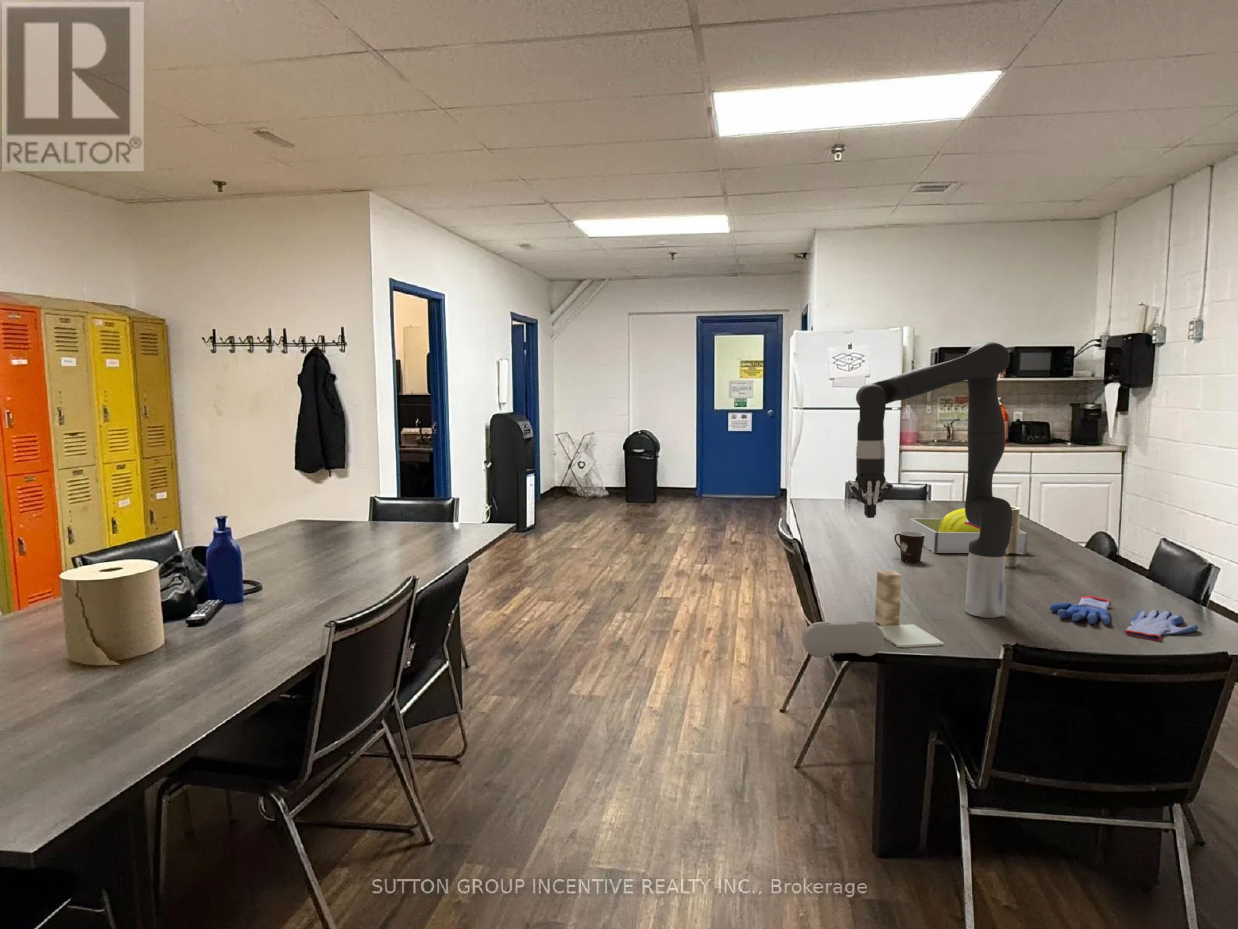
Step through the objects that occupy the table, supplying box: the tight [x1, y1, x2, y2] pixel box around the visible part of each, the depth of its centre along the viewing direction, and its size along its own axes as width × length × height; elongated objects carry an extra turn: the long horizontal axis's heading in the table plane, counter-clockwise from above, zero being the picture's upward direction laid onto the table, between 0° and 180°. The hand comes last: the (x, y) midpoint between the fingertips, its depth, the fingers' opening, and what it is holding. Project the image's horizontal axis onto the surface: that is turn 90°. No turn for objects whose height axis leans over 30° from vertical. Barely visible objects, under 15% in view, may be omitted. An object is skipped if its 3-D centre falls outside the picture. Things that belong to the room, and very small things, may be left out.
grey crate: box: [907, 517, 1029, 554], centre depth 291 cm, size 34×28×8 cm
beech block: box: [874, 570, 903, 626], centre depth 198 cm, size 4×4×14 cm
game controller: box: [801, 620, 885, 658], centre depth 176 cm, size 20×2×8 cm, turn 95°
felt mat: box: [877, 623, 945, 648], centre depth 189 cm, size 14×12×1 cm
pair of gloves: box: [1049, 594, 1199, 642], centre depth 201 cm, size 32×26×4 cm
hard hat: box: [938, 507, 981, 533], centre depth 290 cm, size 20×26×15 cm
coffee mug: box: [894, 530, 925, 563], centre depth 268 cm, size 12×9×10 cm
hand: (870, 517), depth 208 cm, fingers closed
